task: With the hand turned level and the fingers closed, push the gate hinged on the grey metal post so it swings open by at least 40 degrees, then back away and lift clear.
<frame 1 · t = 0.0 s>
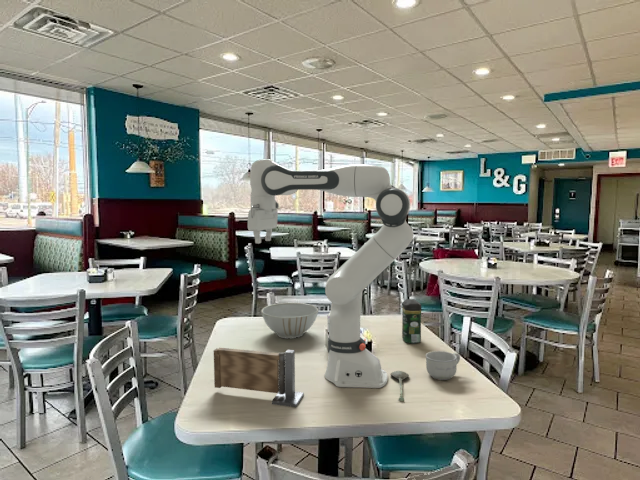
hand: (263, 242, 153), 48 cm above the table, tool pointing down, fingers open, 8 cm apart
teacup: (444, 376, 150), on the table
coffee jar: (411, 341, 188), on the table
decorative bowl: (290, 334, 197), on the table
gate: (249, 370, 135), point 8 cm above the table, hinge at 0.0°
syrup box: (335, 346, 181), on the table
soupspoon: (400, 387, 142), on the table
gate post: (288, 399, 132), on the table
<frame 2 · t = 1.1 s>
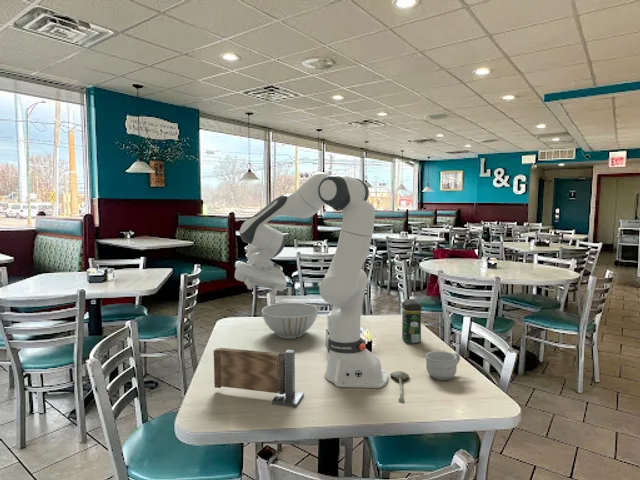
hand: (262, 291, 152), 30 cm above the table, tool tilted 60°, fingers open, 8 cm apart
nothing on the table moved.
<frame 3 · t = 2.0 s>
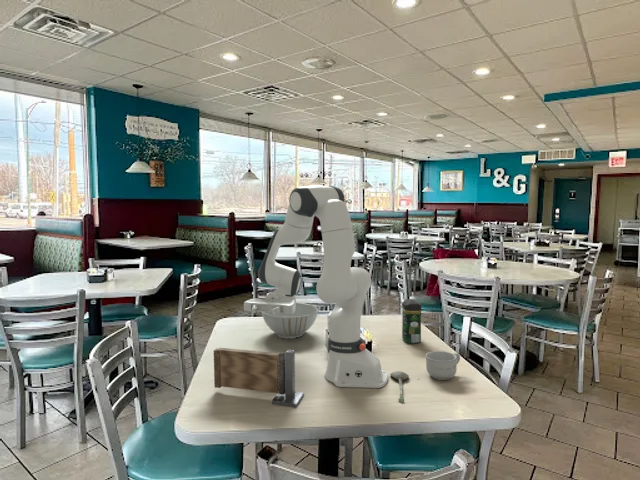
hand: (262, 311, 155), 22 cm above the table, tool horizontal, fingers open, 6 cm apart
nothing on the table moved.
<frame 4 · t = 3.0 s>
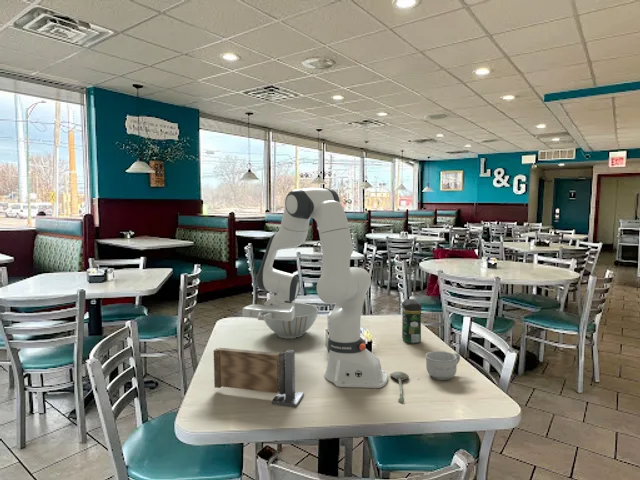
hand: (261, 318, 154), 20 cm above the table, tool horizontal, fingers closed
nothing on the table moved.
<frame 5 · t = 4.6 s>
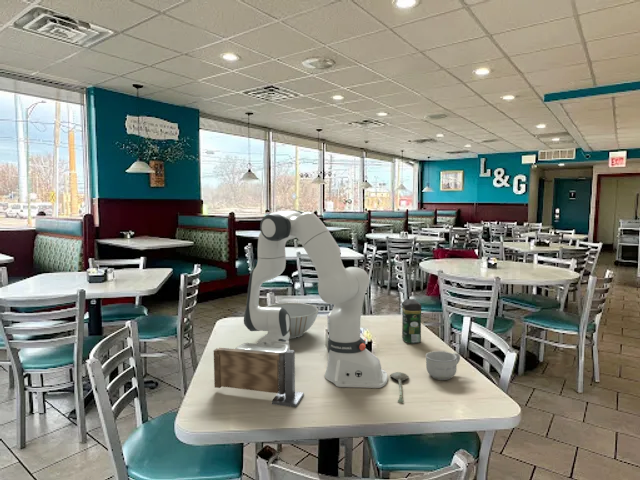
hand: (254, 360, 148), 7 cm above the table, tool horizontal, fingers closed
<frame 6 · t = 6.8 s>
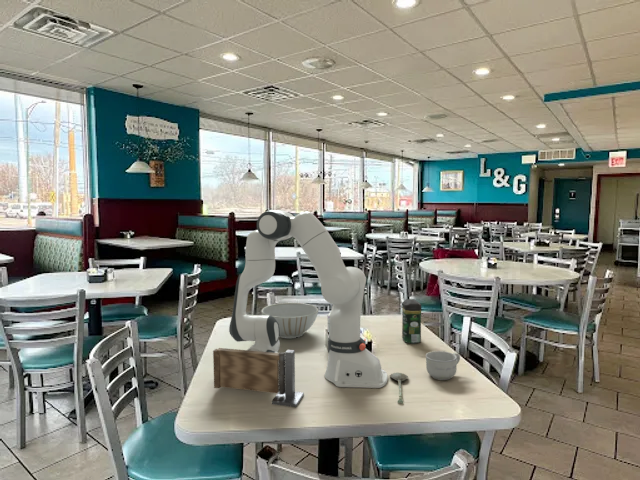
hand: (239, 373, 136), 7 cm above the table, tool horizontal, fingers closed, pressing on gate
gate: (249, 370, 134), point 8 cm above the table, hinge at 0.8°, touching gripper
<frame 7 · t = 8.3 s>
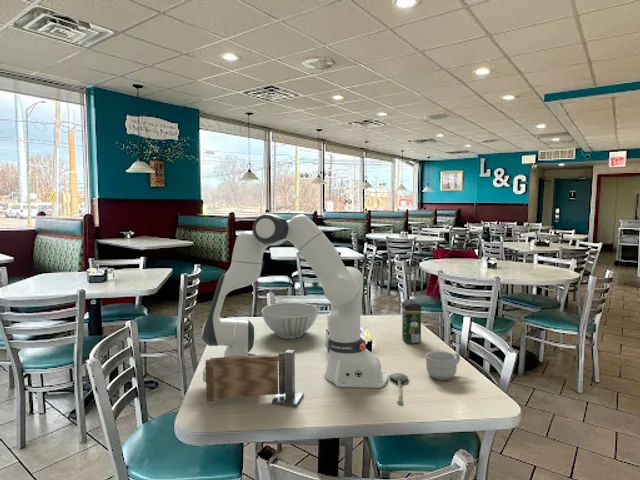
hand: (233, 381, 130), 7 cm above the table, tool horizontal, fingers closed, pressing on gate
gate: (246, 376, 130), point 8 cm above the table, hinge at 24.2°, touching gripper
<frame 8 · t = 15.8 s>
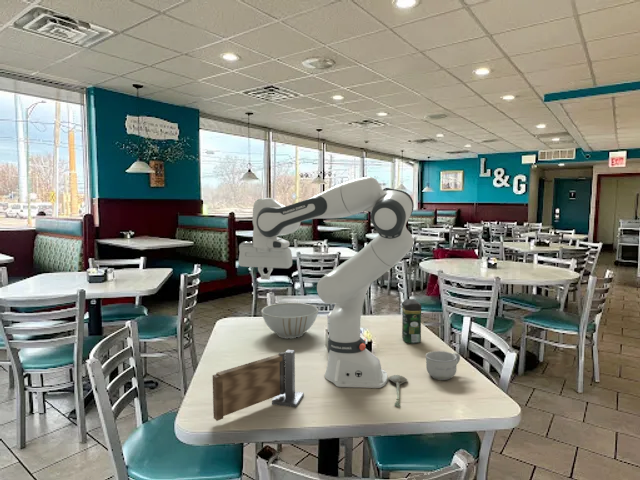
hand: (265, 279, 154), 34 cm above the table, tool pointing down, fingers closed
gate: (251, 384, 124), point 8 cm above the table, hinge at 55.7°
soupspoon: (397, 392, 138), on the table
everything else where it was.
at the end: gate at +56° (first picture: +0°) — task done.
